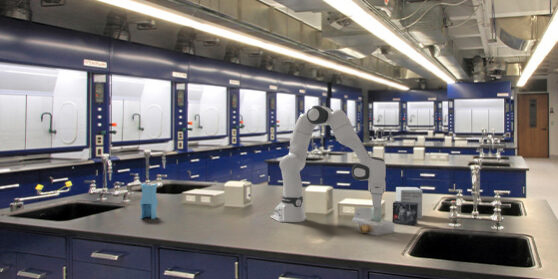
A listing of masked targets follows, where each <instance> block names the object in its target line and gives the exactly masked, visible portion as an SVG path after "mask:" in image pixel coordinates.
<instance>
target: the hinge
mask: <svg viewBox="0 0 558 279" xmlns="http://www.w3.org/2000/svg"><path fill="white" fill-rule="evenodd" d="M382 218H383V216H382V212H381V219H382ZM366 219H372V207H368V206H367V207H365V206H364V207H363V206H362V207H358V208H356V209H355V211H354V214H353V218H352V220H351V223H354V224H359V222H360V221H364V220H366Z"/></svg>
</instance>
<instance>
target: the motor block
mask: <svg viewBox="0 0 558 279" xmlns="http://www.w3.org/2000/svg"><path fill="white" fill-rule="evenodd" d="M358 231H359V232H360V233H362V234H367V235H371V236H374V237H376V236H382V235H386V234H387V235H388V234H393V233H395V223H393V222H392V221H389V220H387V219H381V221H372V219H366V220H364V221H360V222H359V223H358Z"/></svg>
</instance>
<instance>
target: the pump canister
mask: <svg viewBox="0 0 558 279" xmlns="http://www.w3.org/2000/svg"><path fill="white" fill-rule="evenodd" d="M371 208H372V221H381V213H382V206H381V207H380V209H379V211H378V216H375V209H374V208H373V206H371Z"/></svg>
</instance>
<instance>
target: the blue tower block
mask: <svg viewBox="0 0 558 279" xmlns="http://www.w3.org/2000/svg"><path fill="white" fill-rule="evenodd" d="M140 186H141V198H140V201H139V205H140V218H139V219H140V220H142V219H144V218H146V217H148V218H150V217H151V220H154V219H156V218H158V215H157V208H158V203H159V202H158V201H159V200H158V197H157V187H158V183H154V184H147V183H142V184H140Z"/></svg>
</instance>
